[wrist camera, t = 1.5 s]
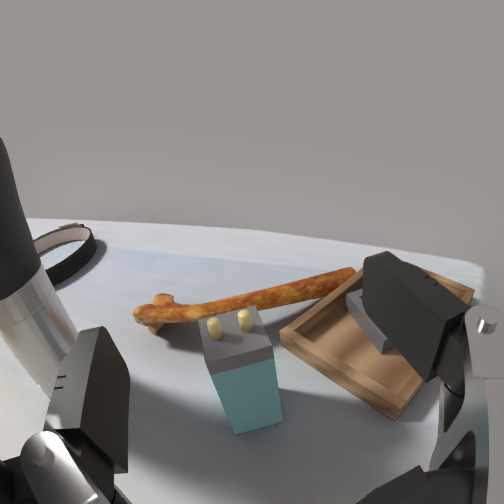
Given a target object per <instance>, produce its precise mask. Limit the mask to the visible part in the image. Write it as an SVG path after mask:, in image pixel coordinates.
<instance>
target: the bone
mask: <svg viewBox="0 0 504 504" xmlns="http://www.w3.org/2000/svg"><path fill="white" fill-rule="evenodd" d="M355 273H356V271H355V270H354V269H353V268H352V267H347V268H343V269H339V270H336V271H332V272H329V273H325V274H321V275H317V276H314V277H310V278H307V279H303V280H299V281H295V282H291V283H288V284H284V285H280V286H276V287H272V288H268V289H264V290H260V291H256V292H252V293H248V294H243V295H239V296H234V297H230V298H226V299H222V300H218V301H214V302H209V303H205V304H195V305H178V304H176V303H175V302H174V300H173V296H172V295H169V294H157V295H155V296H154V298H153V301H152V304H145V305H143V306H140V307H137V308H135V310H134V311H133V317H134V319H135V321H136V322H137V323H139V324H142V325H144V326H148V327H149V330H150V332H151V333H153V334H157V332H158V331H159V329H160V327H161V326H162V325H163V324H164V323H178V322H198V320H199V319H203V318H207V317H211V316H215V315H219V314H223V313H227V312H231V311H235V310H239V309H243V308H247V307H250V306H254V305H255V306H256V308H257V311H260V310H265V309H270V308H274V307H279V306H283V305H288V304H293V303H298V302H302V301H306V300H310V299H316V298H320V297H324V296H327V295H329V294H330V293H331V292H333V291H334V290H335V289H336V288H338V287H339V286H340V285H341V284H343V283H344V282H345V281H347V280H348V279H349V278H350V277H352V276H353V275H354V274H355Z"/></svg>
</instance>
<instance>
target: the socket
mask: <svg viewBox="0 0 504 504" xmlns="http://www.w3.org/2000/svg"><path fill="white" fill-rule="evenodd" d="M346 310H347V311H348V312H349V313H350V315H351V316H352V317H353V319H354V320H355V321H356V322H357V324H358V325H359V326H360V328H361V329H362V330H363V332H364V333H365V334H366V335H367V337H368V338H369V339H370V341H371V342H372V343H373V345H374V346H375V347H376V349H377V350H378V351H379V353H380V354H381V355H382V354H384V353H386V352H388V351H391V350H393V349H395V346H394V345H393V344H392V343H391V342H390V341H389V340H388V338H387V337H386V336H385V335H384V334H383V333H382V332H381V330H380V329H379V328H378V327H377V326H376V325H375V324H374V322H373V321H372V320H371V319H370V318H369V317H368V316H367V314H366V312H365V310H364V307H363V303H362V289H360V290H357V291H354V292H351V293H348V294H346Z"/></svg>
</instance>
